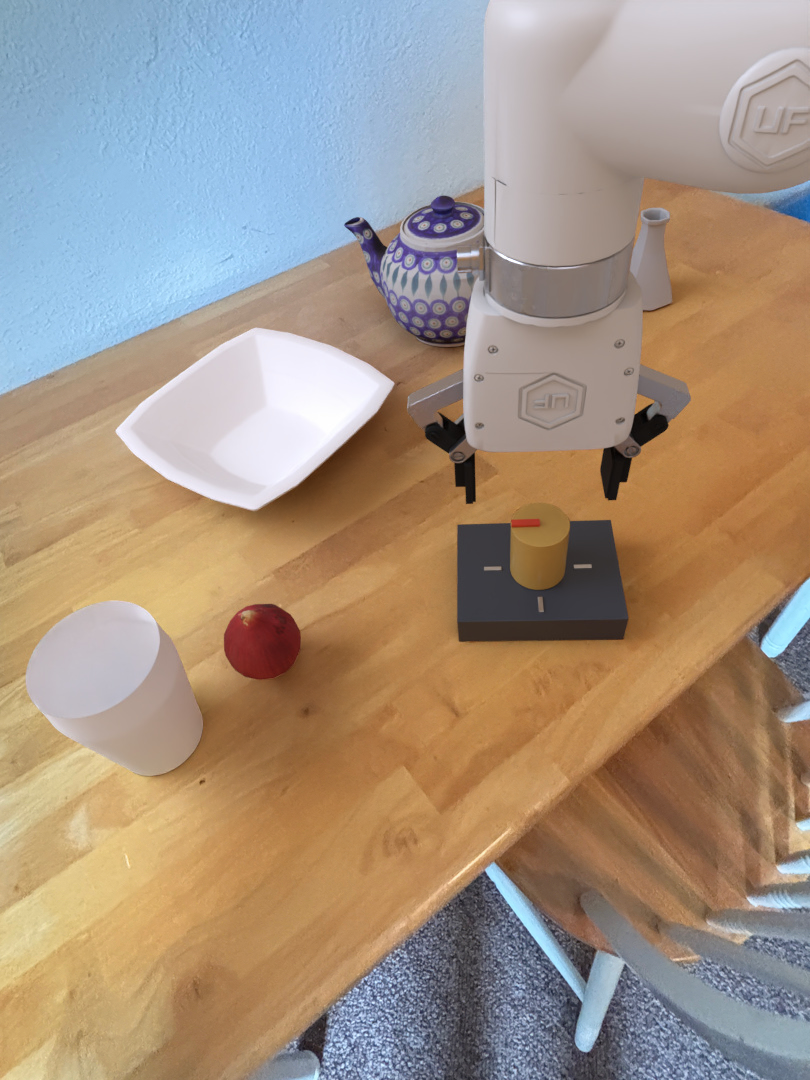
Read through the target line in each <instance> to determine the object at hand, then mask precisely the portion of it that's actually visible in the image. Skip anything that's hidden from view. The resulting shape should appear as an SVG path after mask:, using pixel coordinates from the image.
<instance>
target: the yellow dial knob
mask: <svg viewBox="0 0 810 1080" xmlns="http://www.w3.org/2000/svg"><path fill="white" fill-rule="evenodd" d="M570 521H571V520H570V518H569V517H568V515H567V514H566V512H565V511H564V510H562V508H560V507H558V506H557V505H554V504H552V503H548V502H533V503H528V504H525V505H523V506H521V507H519V508H518V509H517V510H516V511H515V512H514V513H513V515H512V517H511V520H510V523H511V541H510V571H511V574H512V576H513V578H514V579H515V580H516V582H518V583H519V584H520V585H522V586H524V587H526V588H529V589H533V590H544V589H548V588H551V587H553V586H555V585H556V584H558V583H559V582H560V581H561V580H562V578H563V576H564V573H565V566H566V558H567V549H568V541H569V532H570Z"/></svg>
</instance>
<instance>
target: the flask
mask: <svg viewBox="0 0 810 1080" xmlns="http://www.w3.org/2000/svg"><path fill="white" fill-rule="evenodd" d="M670 221H671V212H670V211H669V210H667V209H666V208H664V207H648V208H646V209H643V210H641V211H640V222H641V226H640V231H639V233H638V237H637V239H636V242H635V243H634V246H633V252H632V258H631V264H630V270H629V271H630V272H631V273H632V274H633V275H634V277H635V278H636V281H637V283H638V285H639V286H640V289H641V292H642V305H643V311H654V310H656V309H657V310H658V309H659V308H662V307H664V306H665V307H666V306H667V305H670V304H672V303H673V288H672V283H671V278H670V273H669V268H668V262H667V261H668V260H667V255H666V249H665V233H666V227H667V224H668V223H670Z"/></svg>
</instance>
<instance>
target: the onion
mask: <svg viewBox="0 0 810 1080" xmlns="http://www.w3.org/2000/svg"><path fill="white" fill-rule="evenodd" d="M301 647H302V635H301V630H300V628H299V626H298V624H297V622H296V620H295V619H294V617H293V616H292V615H291V614H290V613H289V612H287V611H286V610H285V609H283V608H282V607H280V606H278V605H276V604H275V603H254V604H251V605H247V606H245V607H243V608H242V609H240V610H238V611H237V612H236V613H235V614H234V615H233V616H232V618H231V619H230V620H229V622H228V624H227V626H226V629H225V631H224V633H223V650H224V655H225V657H226V659H227V660H228V663H229V664H230V665H231V666H230V667H232V668H233V670H235V672H237V673H239V674H240V675H241V676H243V677H244V678H248V679H253V680H257V681H265V680H272V679H277V678H278V677H280V676H282V675H285V674H286V673H287V672H288V671H289V670H290V669H291V668H292V667H293V666H294V665H295V663H296V661H297V659H298V657H299V655H300V651H301V650H302V649H301Z"/></svg>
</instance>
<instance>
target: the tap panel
mask: <svg viewBox="0 0 810 1080" xmlns="http://www.w3.org/2000/svg"><path fill="white" fill-rule="evenodd" d="M569 521H570V532H569V541H568V549H567V558H566V566H565V573H564V576H563V578H562V580H561V581H560V582H559V583H558V584H556V585H555V586H553V587H551V588H548V589H544V590H533V589H529V588H526V587H524V586H522V585H520V584H519V583H518V582H516V580H515V579H514V578H513V576H512V574H511V571H510V541H511V522H497V523H496V522H494V523H492V522H491V523H467V524H466V523H465V524H461V523H459V524H457V528H456V533H457V534H456V537H457V538H456V540H457V541H456V545H457V547H456V549H457V550H456V557H457V558H456V561H457V563H456V567H457V568H456V582H457V583H456V588H457V589H456V596H457V597H456V623H457V636H458V642H459V643H461V642H462V643H463V642H465V643H466V642H468V643H469V642H532V641H533V642H537V641H539V642H540V641H541V642H542V641H543V642H544V641H548V642H549V641H615V640H619V641H620V640H624V639H625V636H626V632H627V627H628V623H629V619H630V617H629V612H628V607H627V601H626V596H625V591H624V585H623V579H622V574H621V568H620V563H619V558H618V557H619V556H618V551H617V547H616V541H615V535H614V529H613V524H612V519H594V520H591V519H589V520H569Z"/></svg>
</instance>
